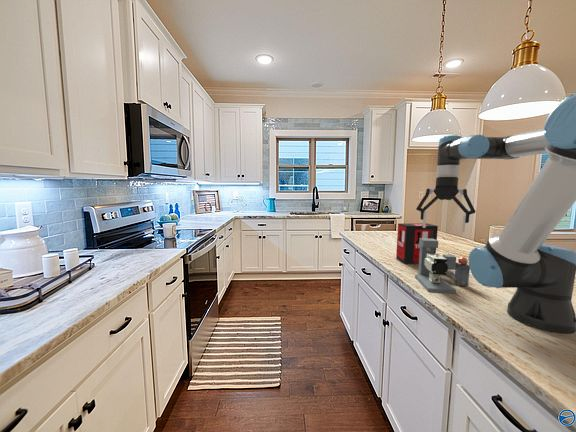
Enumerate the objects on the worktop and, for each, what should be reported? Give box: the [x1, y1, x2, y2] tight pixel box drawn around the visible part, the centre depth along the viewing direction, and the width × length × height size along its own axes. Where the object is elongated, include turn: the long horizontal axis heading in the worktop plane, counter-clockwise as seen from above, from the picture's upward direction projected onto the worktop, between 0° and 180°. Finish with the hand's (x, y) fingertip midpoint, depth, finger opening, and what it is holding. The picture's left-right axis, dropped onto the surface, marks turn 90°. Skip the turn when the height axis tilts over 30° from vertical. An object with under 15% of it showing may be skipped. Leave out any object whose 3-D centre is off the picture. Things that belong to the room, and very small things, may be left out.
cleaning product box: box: [395, 222, 439, 265], centre depth 136 cm, size 16×9×20 cm, turn 94°
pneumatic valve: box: [424, 252, 449, 284], centre depth 104 cm, size 6×12×12 cm, turn 170°
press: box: [414, 238, 457, 294], centre depth 107 cm, size 24×18×17 cm
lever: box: [446, 256, 471, 287], centre depth 112 cm, size 20×4×11 cm, turn 171°
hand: (442, 229), depth 104 cm, fingers open, 13 cm apart
